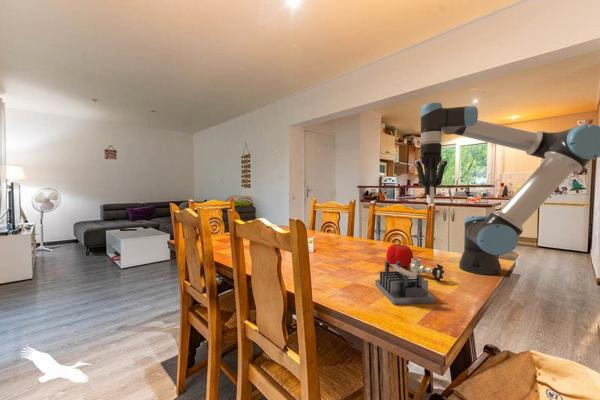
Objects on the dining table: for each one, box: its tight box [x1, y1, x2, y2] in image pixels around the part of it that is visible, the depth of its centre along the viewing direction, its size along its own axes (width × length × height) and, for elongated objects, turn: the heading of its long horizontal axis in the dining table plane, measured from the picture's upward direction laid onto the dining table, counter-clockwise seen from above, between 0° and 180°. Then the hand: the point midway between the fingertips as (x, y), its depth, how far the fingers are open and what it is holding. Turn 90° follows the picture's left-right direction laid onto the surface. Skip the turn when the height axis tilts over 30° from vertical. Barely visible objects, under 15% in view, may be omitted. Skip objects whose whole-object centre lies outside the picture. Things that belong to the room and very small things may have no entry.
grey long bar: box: [389, 264, 417, 279], centre depth 95 cm, size 16×3×2 cm, turn 3°
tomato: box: [385, 243, 414, 269], centre depth 126 cm, size 12×12×10 cm
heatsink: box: [374, 260, 436, 306], centre depth 95 cm, size 18×13×8 cm
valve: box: [409, 257, 445, 283], centre depth 110 cm, size 7×7×12 cm
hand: (430, 203), depth 112 cm, fingers closed
